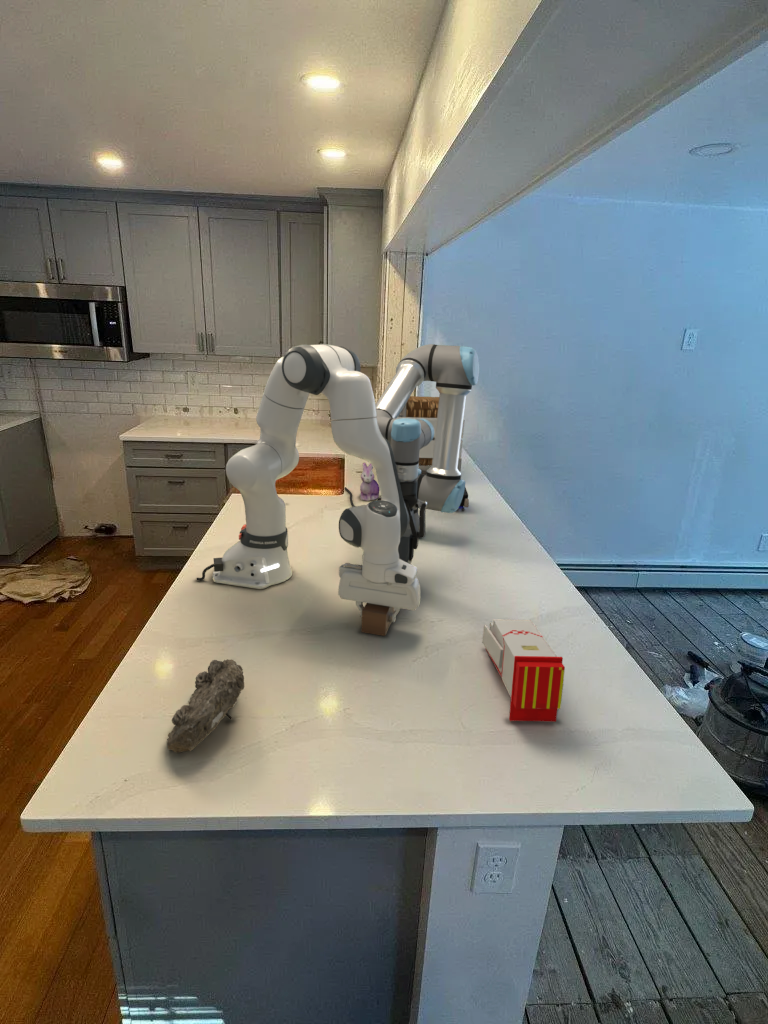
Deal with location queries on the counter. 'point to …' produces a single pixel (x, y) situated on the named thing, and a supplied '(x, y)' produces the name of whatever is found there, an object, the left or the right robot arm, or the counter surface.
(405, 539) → the cap block
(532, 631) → the toy
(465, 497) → the figurine character
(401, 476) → the right robot arm
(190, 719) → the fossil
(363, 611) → the walnut beam
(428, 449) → the white boxy piece
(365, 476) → the figurine
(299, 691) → the counter surface
